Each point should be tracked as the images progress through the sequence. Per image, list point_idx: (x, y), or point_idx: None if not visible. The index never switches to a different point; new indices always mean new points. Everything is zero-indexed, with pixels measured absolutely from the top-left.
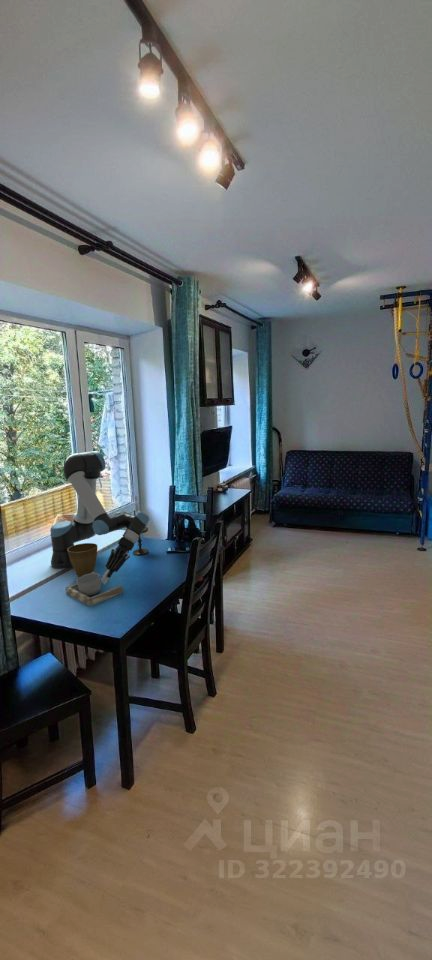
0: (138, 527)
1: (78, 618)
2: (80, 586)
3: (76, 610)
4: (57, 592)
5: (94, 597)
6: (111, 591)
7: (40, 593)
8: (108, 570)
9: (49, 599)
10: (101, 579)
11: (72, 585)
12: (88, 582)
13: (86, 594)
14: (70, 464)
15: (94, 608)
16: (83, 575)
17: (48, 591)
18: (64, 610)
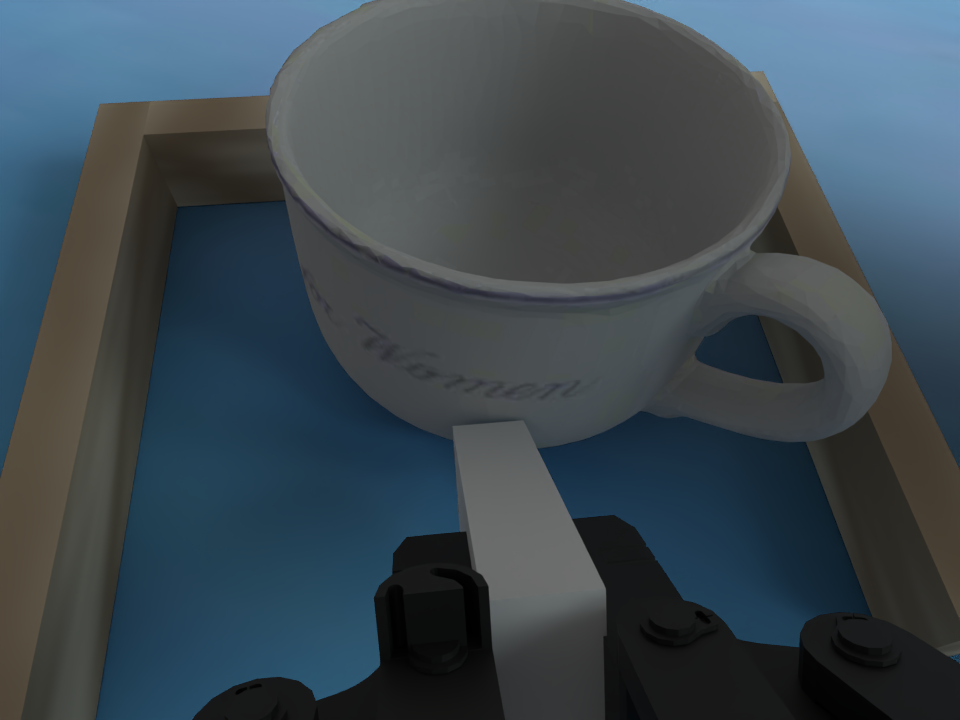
0: None
1: (7, 22)
2: (457, 56)
3: (187, 65)
4: (840, 100)
5: (86, 164)
6: (14, 450)
7: (917, 6)
8: (489, 585)
9: (688, 9)
10: (515, 438)
11: (789, 141)
12: (308, 44)
13: (406, 210)
14: None
15: (24, 183)
16: (770, 116)
17: (932, 58)
18: (302, 9)
